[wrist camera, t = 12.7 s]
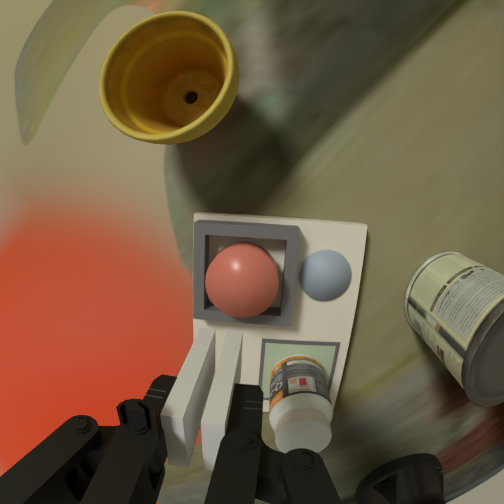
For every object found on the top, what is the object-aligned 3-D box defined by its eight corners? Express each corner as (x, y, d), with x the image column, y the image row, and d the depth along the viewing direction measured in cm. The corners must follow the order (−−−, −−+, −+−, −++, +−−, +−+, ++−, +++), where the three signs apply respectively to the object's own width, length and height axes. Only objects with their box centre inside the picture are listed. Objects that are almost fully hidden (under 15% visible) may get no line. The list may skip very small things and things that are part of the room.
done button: (275, 308, 29) (275, 320, 27) (210, 303, 29) (204, 314, 27) (280, 244, 28) (281, 250, 25) (211, 239, 28) (205, 245, 26)
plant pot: (126, 123, 29) (74, 107, 19) (179, 39, 27) (146, -5, 17) (211, 170, 30) (183, 168, 20) (267, 80, 27) (265, 40, 18)
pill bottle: (267, 354, 32) (264, 419, 22) (323, 348, 31) (339, 411, 21) (272, 396, 33) (271, 462, 23) (324, 391, 32) (336, 456, 23)
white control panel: (330, 405, 35) (334, 424, 31) (198, 397, 36) (192, 415, 32) (363, 223, 30) (373, 229, 26) (197, 212, 31) (188, 216, 27)
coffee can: (490, 280, 30) (566, 326, 16) (441, 349, 32) (498, 419, 19) (440, 231, 29) (526, 266, 16) (385, 310, 32) (442, 386, 18)
